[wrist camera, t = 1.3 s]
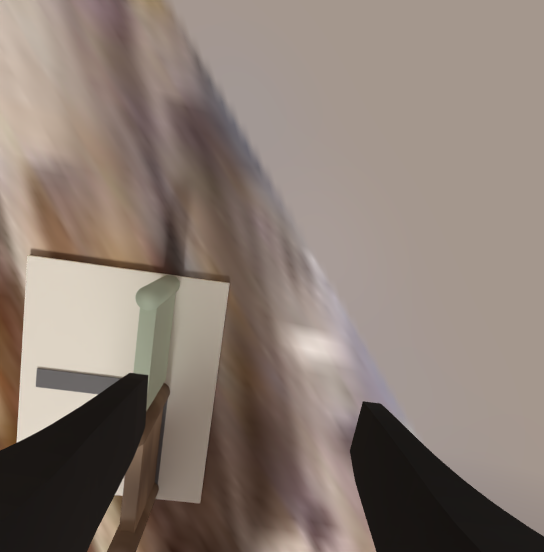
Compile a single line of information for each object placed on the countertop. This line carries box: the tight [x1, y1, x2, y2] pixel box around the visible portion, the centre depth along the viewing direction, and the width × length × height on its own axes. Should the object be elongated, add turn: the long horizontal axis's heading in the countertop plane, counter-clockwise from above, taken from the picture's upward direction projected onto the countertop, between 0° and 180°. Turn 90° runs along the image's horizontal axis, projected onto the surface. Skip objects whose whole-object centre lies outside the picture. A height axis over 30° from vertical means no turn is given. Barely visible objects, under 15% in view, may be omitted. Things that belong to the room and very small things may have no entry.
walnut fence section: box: [107, 383, 170, 552], centre depth 20 cm, size 8×1×5 cm, turn 171°
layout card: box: [17, 255, 230, 503], centre depth 22 cm, size 15×12×1 cm
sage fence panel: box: [133, 274, 180, 411], centre depth 19 cm, size 7×1×4 cm, turn 171°
